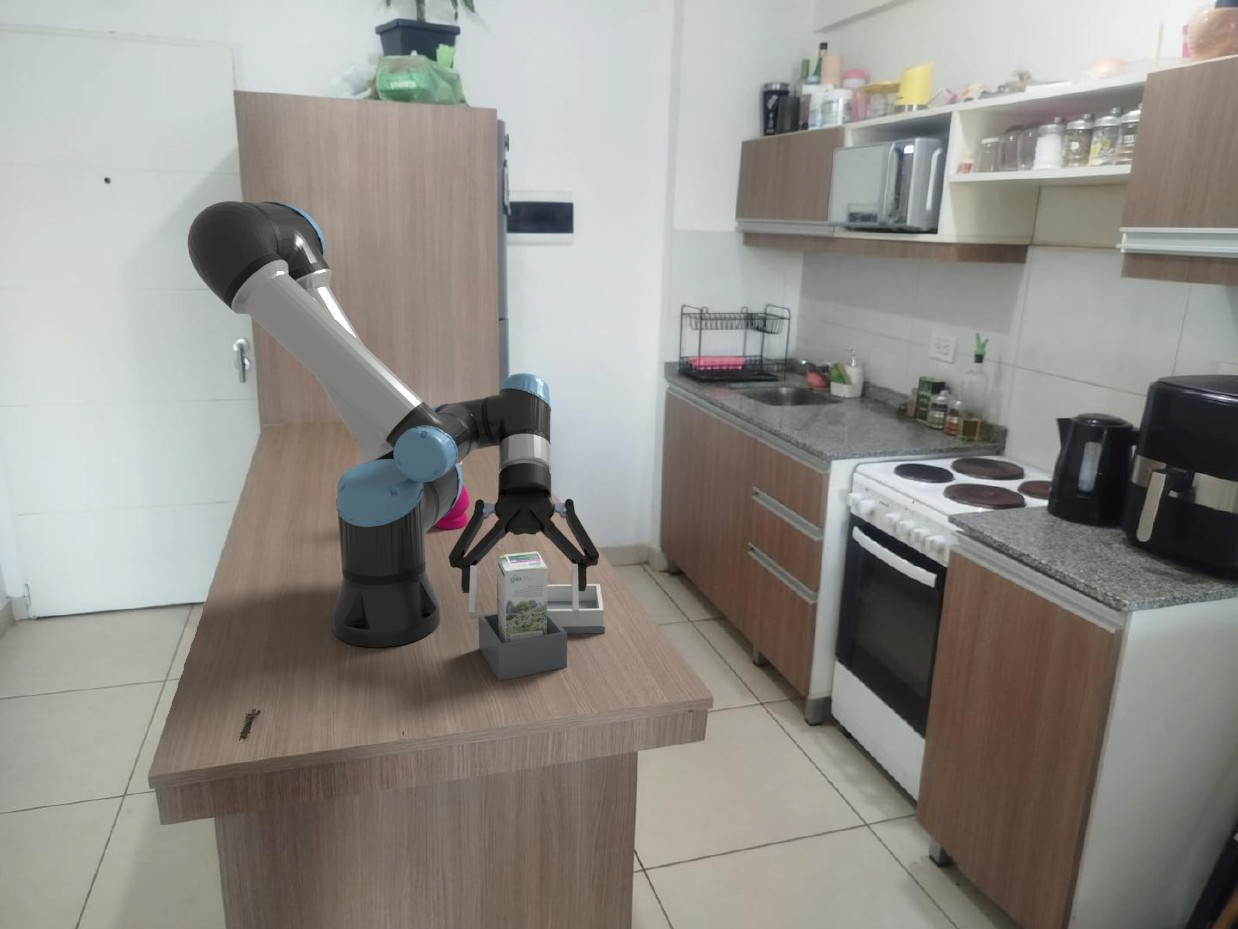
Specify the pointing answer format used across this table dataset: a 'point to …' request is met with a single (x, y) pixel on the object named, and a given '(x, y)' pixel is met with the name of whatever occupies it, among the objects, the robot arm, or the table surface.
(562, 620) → the low tray
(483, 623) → the deep sleeve
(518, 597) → the syrup box
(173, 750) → the table surface
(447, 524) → the pepper mill
